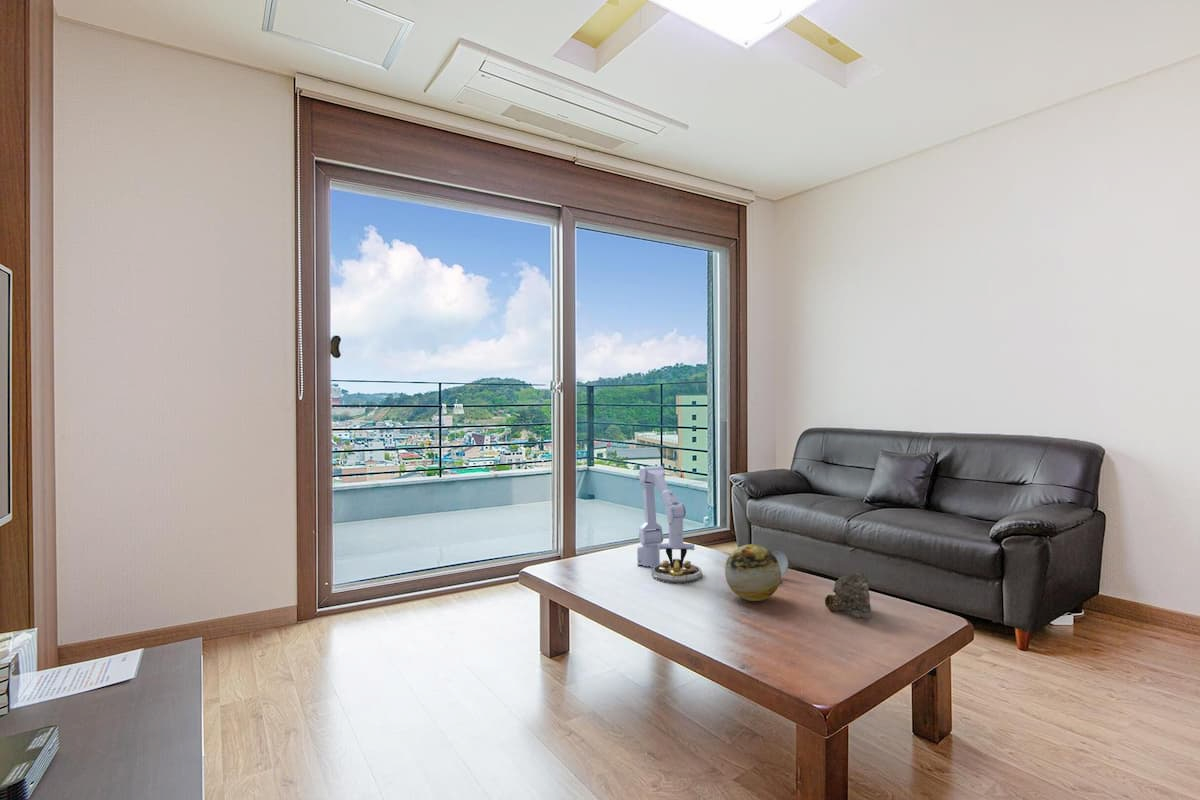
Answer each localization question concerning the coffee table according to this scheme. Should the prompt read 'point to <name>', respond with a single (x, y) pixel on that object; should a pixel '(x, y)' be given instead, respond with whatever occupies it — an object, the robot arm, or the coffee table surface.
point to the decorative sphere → (753, 572)
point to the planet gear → (676, 568)
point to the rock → (851, 596)
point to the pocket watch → (781, 561)
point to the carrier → (690, 575)
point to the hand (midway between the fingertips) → (676, 567)
